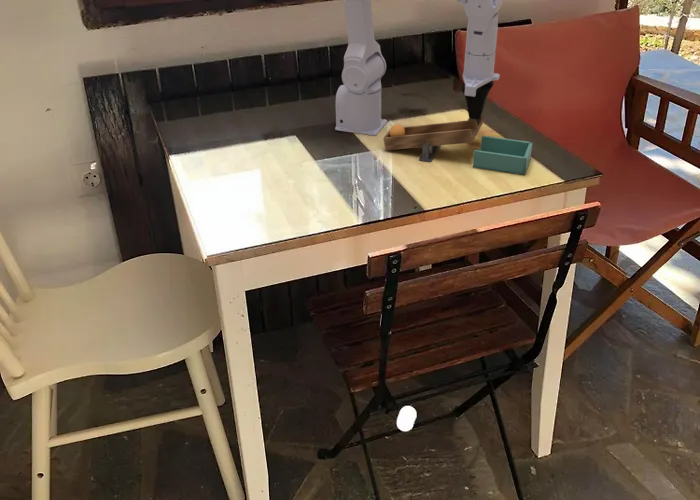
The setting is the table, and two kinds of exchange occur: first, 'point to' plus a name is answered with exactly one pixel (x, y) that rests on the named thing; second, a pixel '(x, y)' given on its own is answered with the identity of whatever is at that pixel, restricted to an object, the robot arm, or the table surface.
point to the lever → (435, 134)
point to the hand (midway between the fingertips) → (474, 117)
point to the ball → (397, 130)
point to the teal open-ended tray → (503, 155)
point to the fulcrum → (428, 152)
